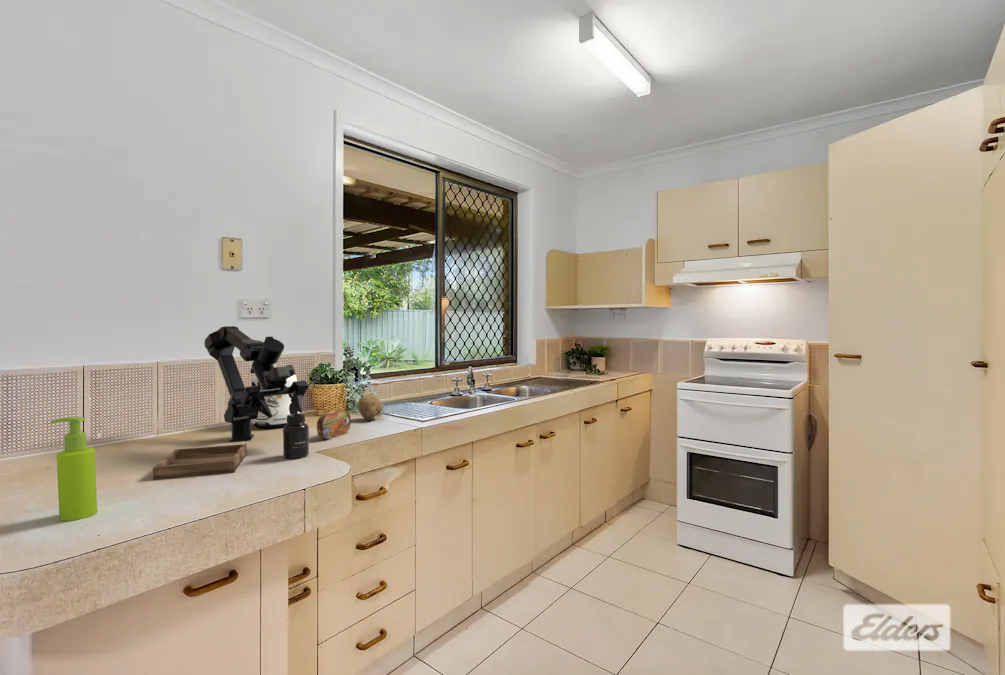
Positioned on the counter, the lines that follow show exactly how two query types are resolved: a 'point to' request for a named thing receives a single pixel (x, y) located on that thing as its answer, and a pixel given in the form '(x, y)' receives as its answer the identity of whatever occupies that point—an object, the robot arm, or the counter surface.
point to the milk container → (276, 407)
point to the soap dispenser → (76, 474)
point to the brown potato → (369, 406)
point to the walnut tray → (200, 461)
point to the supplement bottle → (295, 437)
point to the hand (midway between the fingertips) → (286, 414)
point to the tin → (333, 424)
